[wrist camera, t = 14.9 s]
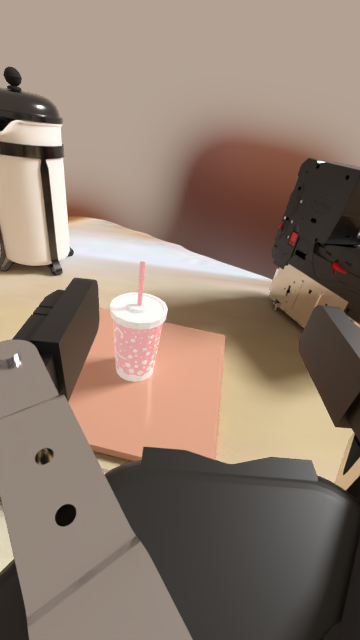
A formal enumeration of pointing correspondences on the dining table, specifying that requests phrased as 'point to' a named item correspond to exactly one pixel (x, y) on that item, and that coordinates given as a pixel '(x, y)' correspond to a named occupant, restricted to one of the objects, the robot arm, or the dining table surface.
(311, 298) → the bill acceptor
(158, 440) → the terracotta tile
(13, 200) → the coffee press
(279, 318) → the dining table surface
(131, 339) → the beverage cup
